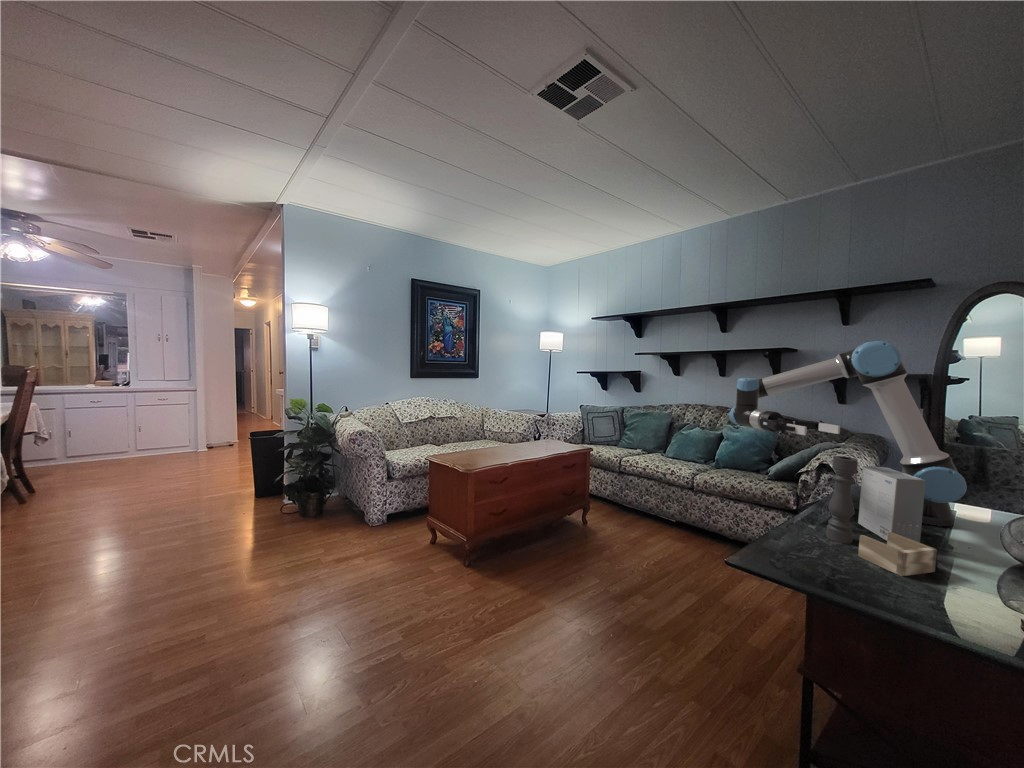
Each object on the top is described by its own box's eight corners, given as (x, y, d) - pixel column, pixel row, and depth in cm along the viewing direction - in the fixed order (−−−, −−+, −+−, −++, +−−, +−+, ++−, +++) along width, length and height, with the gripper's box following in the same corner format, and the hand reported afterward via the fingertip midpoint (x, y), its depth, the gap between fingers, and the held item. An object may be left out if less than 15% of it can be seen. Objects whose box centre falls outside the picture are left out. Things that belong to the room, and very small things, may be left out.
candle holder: (827, 532, 124) (833, 454, 122) (853, 539, 119) (860, 458, 118) (824, 538, 119) (830, 457, 118) (851, 545, 115) (857, 462, 113)
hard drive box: (921, 547, 115) (927, 480, 114) (890, 544, 117) (896, 478, 115) (882, 525, 130) (887, 466, 129) (856, 523, 132) (861, 464, 130)
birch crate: (889, 552, 111) (891, 532, 111) (934, 571, 101) (937, 549, 101) (858, 556, 109) (859, 535, 108) (901, 576, 99) (903, 553, 98)
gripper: (793, 429, 151) (851, 440, 130) (738, 431, 145) (790, 443, 125) (794, 410, 151) (853, 418, 130) (739, 411, 145) (791, 419, 124)
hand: (822, 430), depth 127 cm, fingers open, 13 cm apart
